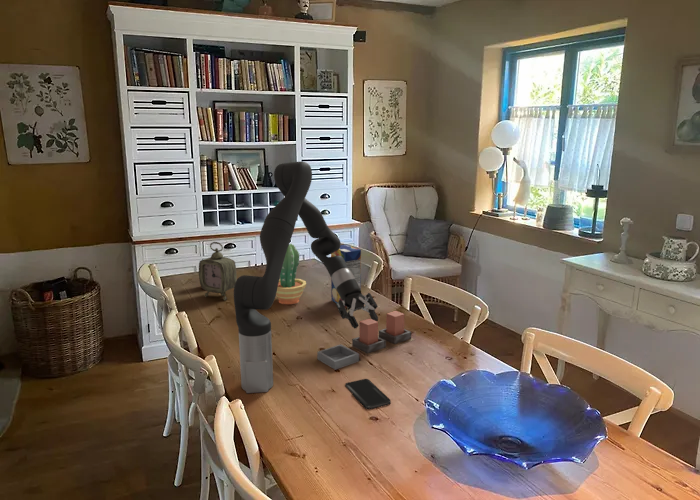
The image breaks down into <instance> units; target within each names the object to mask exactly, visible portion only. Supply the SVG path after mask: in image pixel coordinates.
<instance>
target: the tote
mask: <svg viewBox="0 0 700 500" xmlns="http://www.w3.org/2000/svg"><path fill="white" fill-rule="evenodd" d="M317 360H318V361H319V362H320V363H323V364H324V365H326V366H329V367H330V368H331V369H333V370H335V371H336V370H339V369H341V368H344V367H347V366H350V365H352V364H355V363H358V362H360V353H359V352H356V351H355V350H353V349H351V348H349V347H347V346H346V345H343V344H342V343H341V344H337V345H334V346H331V347H328V348H325V349H321V350H319V351H317Z"/></svg>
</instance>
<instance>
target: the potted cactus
mask: <svg viewBox="0 0 700 500" xmlns="http://www.w3.org/2000/svg"><path fill="white" fill-rule="evenodd" d="M299 264H300V253H299V251H298V249H297V248H296V246H295V245H294V244H292V243H289V246H288V249H287V252H286V255H285V259H284V262H283V266H282V270H281V274H280V279H279V283H278V288H277V292H276V296H275V297H277V299H278V303H279V304H282V305H295V304H298V303H299V302H300V298H301V297H302V295H303V293H304V290H305V288H306V287H307V281H306V280H304V279H301V278H296V276H297V271H298V270H297V269H298V267H299Z"/></svg>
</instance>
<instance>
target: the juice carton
mask: <svg viewBox="0 0 700 500" xmlns="http://www.w3.org/2000/svg"><path fill="white" fill-rule="evenodd" d="M333 256H342V257H343V258H344V260H345V262H346V264H347V266H348V268H349V270H350V271H351V272H352V274H353V276H354V278H355V279H356V281H357V283H358V285H359V287H360V289H361V290H362V277H361V276H362V250H361V249H359V248H357V247H355V246H351V245H348V244H341V246H340V248H339V250H337V251H335V252H333V253H332V254H330V257H333ZM330 279H331V280H330V282H331V284H330V285H331V286H330V288H331V289H330V290H331V292H330V293H331V302H334V303H335V304H337V303H338V302H339V300H342V299H341V298H340V296H339V294H338V292H337V290H336V288H335V286H334V284H333V281H332V278H331V277H330ZM342 301H343V300H342ZM345 309H348V307H346V306H345Z"/></svg>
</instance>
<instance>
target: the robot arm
mask: <svg viewBox="0 0 700 500" xmlns="http://www.w3.org/2000/svg"><path fill="white" fill-rule="evenodd" d="M312 171H313V170H312V167H311V165H310V164H309V163H308V162H306V161H292V162H291V161H290V162H283V163H279V164H278V165H277V166H276V167H275V169H274V171H273V176H274V177H273V179H274V182H275V185H276V187H277V188H278V190H279V191H280V194H282V195H283V196H284V197H283V198H282V199H281V200H280V201H279V202H277V204H276V205H275V206H274V207H273V208H272V209H271V210H270V211H269V212H268V213H267V215H266V216H265V219H264V221H263V224H262V226H261V230H260V233H259V241H260V246H261V248H262V249H261V250H262V252H263V254H264V257H265V262H266V266H265V270H264V273H263V276H257V275H244V274H243V275H241V276H239V277H237V278H236V279H237V280H236V282H235V286H234V288H233V304H234V311H235V312H234V313H235V323H236V325H237V328H238V343H239V345H238V347H239V364H240V365H239V367H240V383H241V385H240V386H241V389H243V390H244V391H245V394H253V393H254V394H255V393H256V394H257V393H267V392H269V390H270V389H271V388H273V386H274V370H273V369H274V368H273V366H274V365H273V344H272V342H273V341H272V338H273V337H272V322H271V319H270V318H268V317H267V316H265V315H263V314H262V313H260V312H259V311H258V310H260V311H267V310H269V309H271V307H272V306H273V304H274V302H275V299H276V297H277V296H276V292H277V288H278V283H279V279H280V274H281V270H282V266H283V262H284V259H285V255H286V252H287V249H288V246H289V244H291V240H292V236H293V234H294V230H295V227H296V224H297V219H298V217H299V218H300V221H302V224H303V225H304V227H305V229H306V231H307V232H308V235H309V236H310V238H312V239H314V240H312V242H311V244H310V249H311V252H312V253H313V255H314V256H315V257H316V258H317V259H318V260H319V261H320V263H322V265H323V266H324V267H325V268H326V270H327V272H328V274H329V276H330V279H331V278H332V281H333V284H334V286H335V288H336V290H337V292H338V294H339V296H340V298H341V299H342V300H343V301H342V300H339V302H338V303H335V305H336V307H337V310H338V312H339V315H340V317H341V319H342V320H345V319H346V320H348V321H349V323H350V325H351V327H352V328H353V329H355V330H356V329H357V328H359V323H358V321H357V319H356V317H355V316H354V312H355V311H359V310H362V311H365V312H367V313H368V315H369V317H370V319H372V320H375V321H377V322H378V320H379V316H378V315H377V313H376V309H377V308H378V306H379V305H378V304H377V301H375V299H374V298H373V296H372V294H371V292H368V293H367V294H365V295H364V294H362V288H361V289H360V287H359V285H358V283H357V281H356V279H355V278H354V276H353V274H352V272H351V271H350V270H349V268H348V266H347V264H346V262H345V260H344V258H343V257H342V256H333V257H331V254H332V253H333V252H335V251H337V250H339V248H340V246H341V245H342V244H341V240H340V238H339V237H338V236H337V235H336V233H335V232H334V231H332V229H331V228H329V226H328V224H327V222H326V220H325V218H324V216H323V214H322V212H321V211H320V210H319V209H318V207H316V205H315V204H314V203H312V202H311V201H309V200H308V199H307V198H306V196H307V194H308V192H309V190H310V187H311V184H312V179H313V172H312ZM345 306H346V307H348V308H345Z"/></svg>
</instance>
